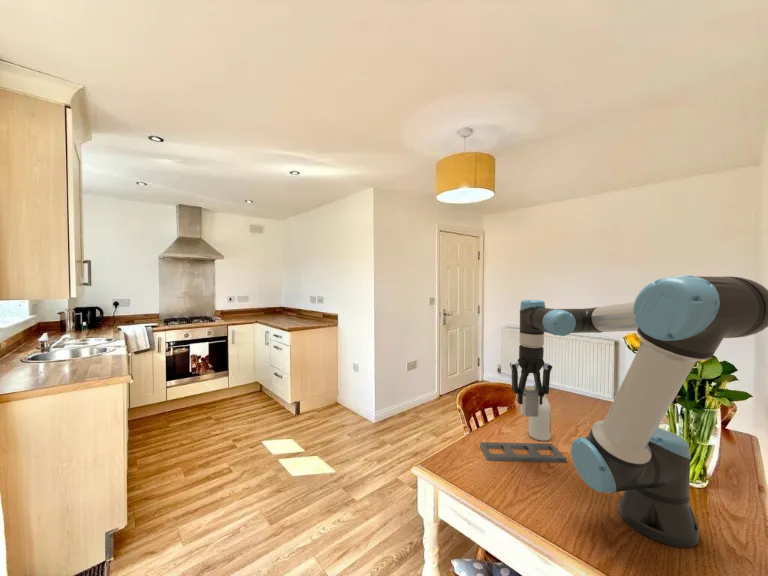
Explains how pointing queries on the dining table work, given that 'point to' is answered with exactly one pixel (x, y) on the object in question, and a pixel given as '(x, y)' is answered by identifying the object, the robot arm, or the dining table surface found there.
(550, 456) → the grey slotted plate
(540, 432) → the milk bottle
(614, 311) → the robot arm
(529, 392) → the block
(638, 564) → the dining table surface
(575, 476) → the dining table surface
